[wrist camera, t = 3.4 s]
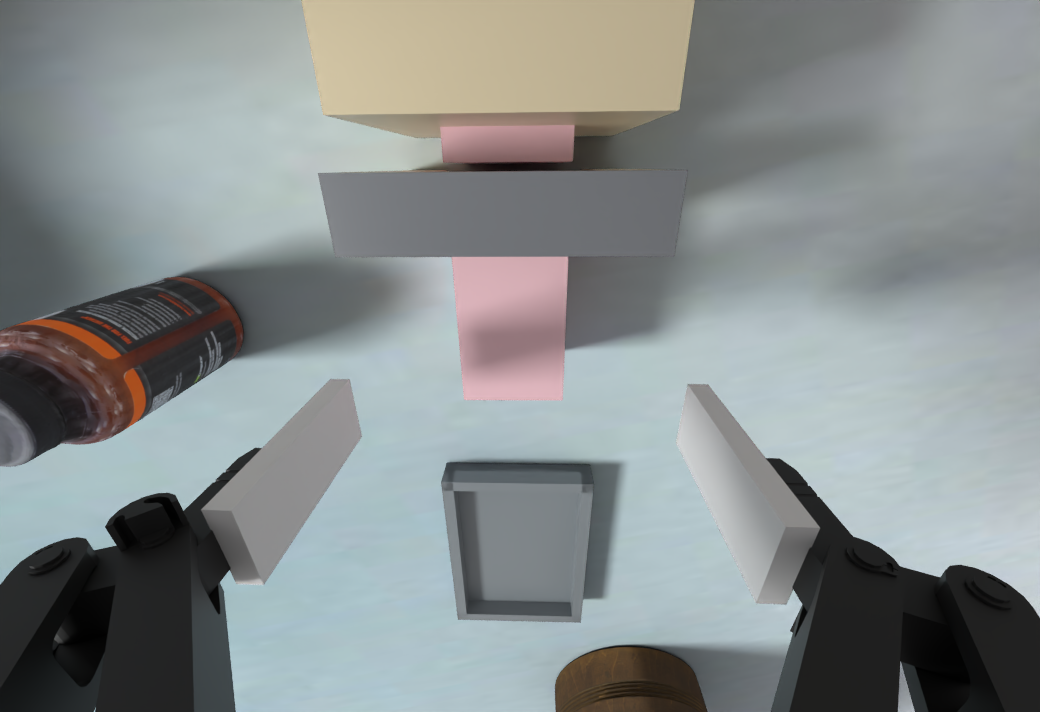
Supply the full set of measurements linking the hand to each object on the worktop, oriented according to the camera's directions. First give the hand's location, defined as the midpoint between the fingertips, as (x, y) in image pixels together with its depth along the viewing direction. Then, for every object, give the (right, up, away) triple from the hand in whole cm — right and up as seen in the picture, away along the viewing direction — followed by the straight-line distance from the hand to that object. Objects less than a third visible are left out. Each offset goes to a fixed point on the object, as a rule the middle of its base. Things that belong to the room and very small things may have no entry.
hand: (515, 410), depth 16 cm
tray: (0, -13, +17) cm, 21 cm away
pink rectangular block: (0, +7, +8) cm, 10 cm away
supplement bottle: (-20, +4, +10) cm, 23 cm away
